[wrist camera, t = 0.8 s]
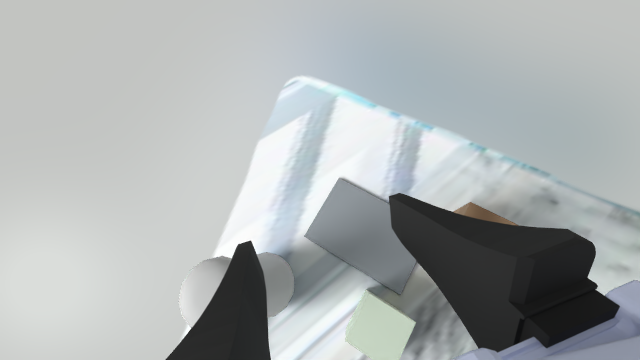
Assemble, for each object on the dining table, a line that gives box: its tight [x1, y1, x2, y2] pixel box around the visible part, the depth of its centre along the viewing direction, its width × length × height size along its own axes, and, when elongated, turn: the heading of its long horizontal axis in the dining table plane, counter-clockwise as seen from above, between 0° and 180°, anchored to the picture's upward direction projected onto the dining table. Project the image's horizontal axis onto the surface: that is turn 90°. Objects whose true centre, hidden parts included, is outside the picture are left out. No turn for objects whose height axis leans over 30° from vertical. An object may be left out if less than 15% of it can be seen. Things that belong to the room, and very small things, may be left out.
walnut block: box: [454, 202, 518, 226], centre depth 24 cm, size 4×4×5 cm
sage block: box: [345, 290, 416, 360], centre depth 23 cm, size 4×4×5 cm
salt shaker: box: [179, 252, 294, 328], centre depth 21 cm, size 6×6×13 cm
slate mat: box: [304, 178, 416, 295], centre depth 28 cm, size 11×8×1 cm
